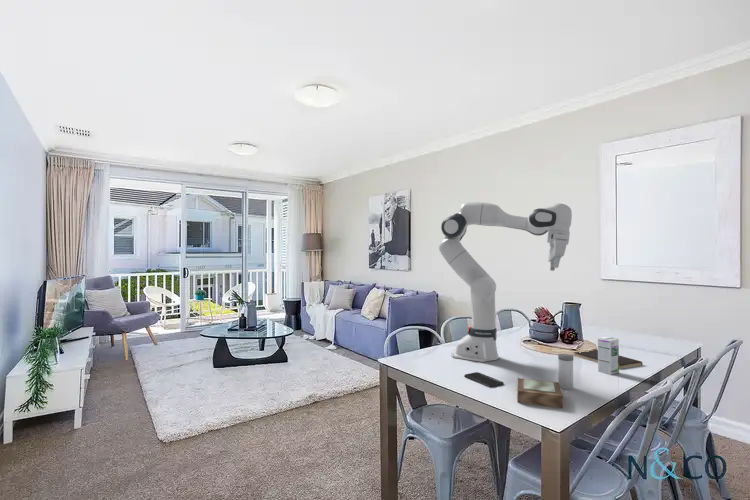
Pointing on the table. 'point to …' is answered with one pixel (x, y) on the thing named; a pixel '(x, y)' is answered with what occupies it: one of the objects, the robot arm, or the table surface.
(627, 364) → the hardcover book
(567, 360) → the canister
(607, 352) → the syrup box
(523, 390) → the walnut base
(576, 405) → the table surface
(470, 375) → the phone
